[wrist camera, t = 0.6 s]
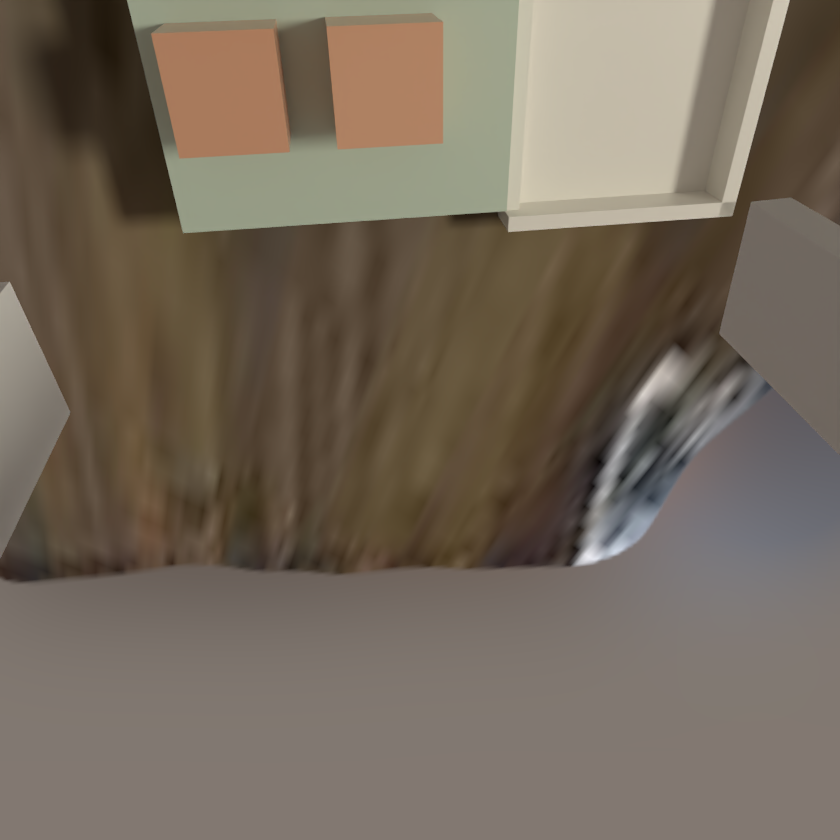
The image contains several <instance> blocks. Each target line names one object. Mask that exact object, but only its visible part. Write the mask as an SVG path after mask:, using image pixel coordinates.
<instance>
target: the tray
mask: <svg viewBox="0 0 840 840" xmlns="http://www.w3.org/2000/svg"><path fill="white" fill-rule="evenodd" d="M789 1H790V0H519V11H518V28H517V45H516V62H515V79H514V96H513V113H512V130H511V147H510V164H509V181H508V198H507V211H501V212H498V217H499V218H500V220H501V222H502V223H503V225H504V226H505V228H506V229H507V231H508V232H513V231H527V230H541V229H556V228H570V227H584V226H598V225H612V224H626V223H641V222H655V221H669V220H683V219H697V218H711V217H725V216H732V215H733V211H734V208H735V204H736V200H737V196H738V192H739V189H740V185H741V181H742V177H743V174H744V170H745V166H746V162H747V159H748V155H749V151H750V147H751V144H752V140H753V136H754V132H755V129H756V125H757V121H758V117H759V114H760V110H761V106H762V102H763V98H764V95H765V91H766V87H767V83H768V80H769V76H770V72H771V68H772V65H773V61H774V57H775V53H776V50H777V46H778V42H779V38H780V35H781V31H782V27H783V23H784V20H785V16H786V12H787V8H788V5H789Z"/></svg>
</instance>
